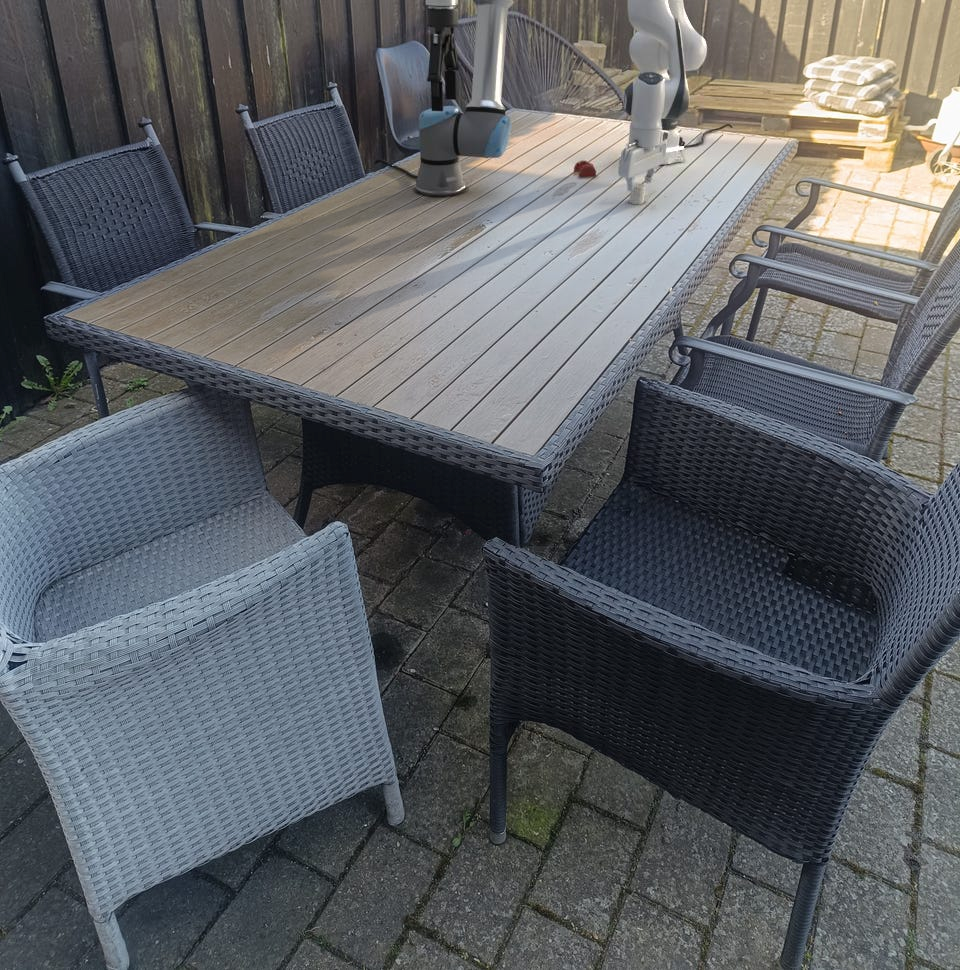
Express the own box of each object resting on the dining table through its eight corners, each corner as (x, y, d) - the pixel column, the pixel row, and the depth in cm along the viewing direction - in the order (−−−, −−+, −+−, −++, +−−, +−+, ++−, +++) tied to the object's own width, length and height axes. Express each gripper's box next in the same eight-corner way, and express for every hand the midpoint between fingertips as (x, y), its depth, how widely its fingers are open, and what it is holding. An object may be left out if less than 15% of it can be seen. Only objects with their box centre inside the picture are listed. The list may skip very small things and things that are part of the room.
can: (641, 204, 246) (643, 188, 244) (627, 203, 248) (629, 186, 245) (644, 200, 250) (646, 184, 247) (631, 199, 251) (632, 182, 248)
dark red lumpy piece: (589, 157, 273) (597, 163, 266) (588, 170, 275) (597, 177, 269) (572, 158, 272) (581, 165, 265) (572, 172, 274) (580, 179, 268)
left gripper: (444, 14, 185) (446, 116, 198) (469, 1, 205) (470, 95, 218) (411, 13, 187) (416, 115, 199) (439, 0, 207) (442, 94, 219)
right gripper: (634, 146, 230) (629, 197, 238) (672, 131, 243) (666, 180, 251) (615, 142, 233) (610, 193, 242) (653, 128, 246) (648, 176, 254)
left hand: (444, 105), depth 208 cm, fingers open, 13 cm apart
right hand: (639, 186), depth 246 cm, fingers open, 8 cm apart
